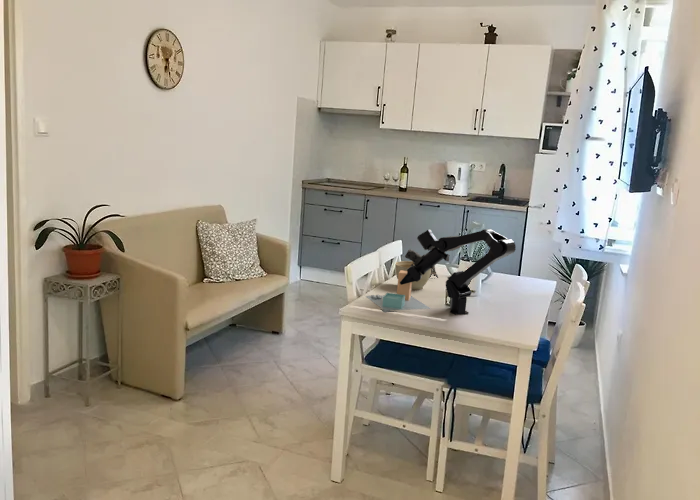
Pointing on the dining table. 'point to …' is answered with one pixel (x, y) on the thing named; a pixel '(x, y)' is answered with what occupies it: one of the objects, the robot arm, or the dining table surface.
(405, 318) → the dining table surface
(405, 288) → the terracotta brick
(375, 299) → the baseplate
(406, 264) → the planter bowl
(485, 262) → the robot arm
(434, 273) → the eiffel tower figurine
